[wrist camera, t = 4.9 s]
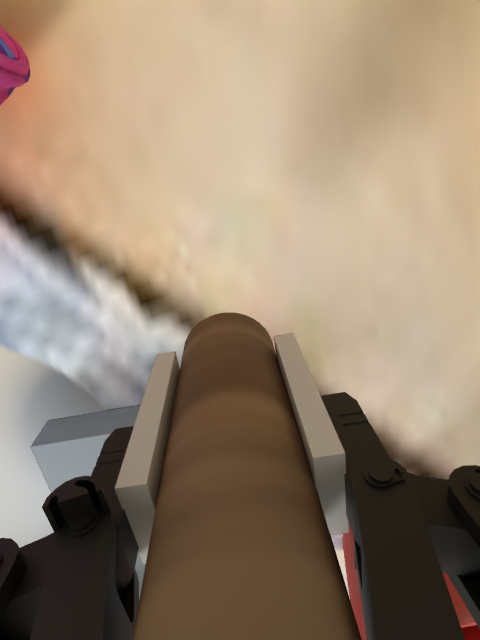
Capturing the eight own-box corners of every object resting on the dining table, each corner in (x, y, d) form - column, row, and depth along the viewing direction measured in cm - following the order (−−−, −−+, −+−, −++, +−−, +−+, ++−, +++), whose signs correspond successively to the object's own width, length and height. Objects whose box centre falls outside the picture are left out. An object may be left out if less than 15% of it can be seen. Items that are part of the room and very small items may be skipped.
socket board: (47, 420, 24) (-124, 680, 12) (263, 384, 24) (315, 605, 12) (115, 582, 30) (48, 865, 18) (287, 553, 30) (338, 814, 18)
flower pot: (295, 528, 29) (332, 687, 20) (417, 455, 27) (518, 595, 18) (363, 592, 33) (420, 753, 24) (475, 532, 31) (584, 681, 22)
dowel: (174, 320, 16) (78, 686, 5) (267, 305, 16) (384, 638, 5) (193, 398, 17) (152, 805, 6) (277, 384, 17) (382, 771, 6)
